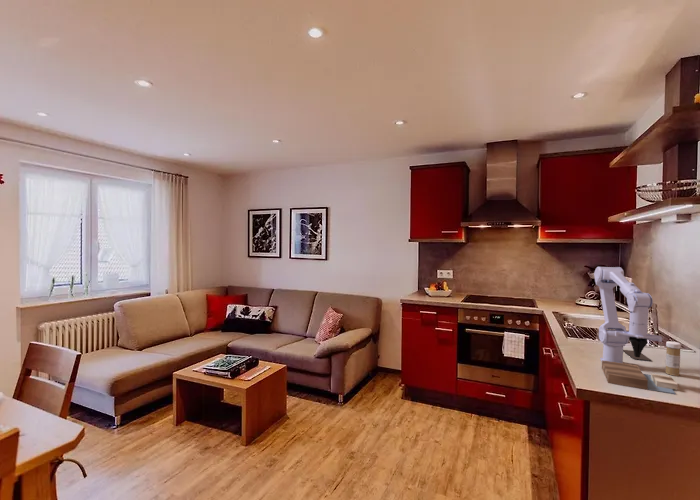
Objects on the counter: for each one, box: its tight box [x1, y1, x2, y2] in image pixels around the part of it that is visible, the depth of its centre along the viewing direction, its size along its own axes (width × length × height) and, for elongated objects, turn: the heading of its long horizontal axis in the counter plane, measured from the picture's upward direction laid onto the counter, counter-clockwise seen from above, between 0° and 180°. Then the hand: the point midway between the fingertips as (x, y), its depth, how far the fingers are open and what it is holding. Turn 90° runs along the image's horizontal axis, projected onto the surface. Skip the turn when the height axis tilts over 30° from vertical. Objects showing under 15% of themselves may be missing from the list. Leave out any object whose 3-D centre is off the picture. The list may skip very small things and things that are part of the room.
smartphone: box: [623, 349, 653, 363], centre depth 171 cm, size 7×1×15 cm
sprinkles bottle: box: [664, 340, 682, 377], centre depth 147 cm, size 5×5×14 cm
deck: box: [601, 360, 648, 390], centre depth 143 cm, size 18×12×4 cm, turn 151°
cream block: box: [650, 373, 679, 390], centre depth 136 cm, size 9×6×2 cm, turn 150°
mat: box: [643, 373, 677, 395], centre depth 138 cm, size 18×8×1 cm, turn 151°
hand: (636, 356), depth 141 cm, fingers closed
